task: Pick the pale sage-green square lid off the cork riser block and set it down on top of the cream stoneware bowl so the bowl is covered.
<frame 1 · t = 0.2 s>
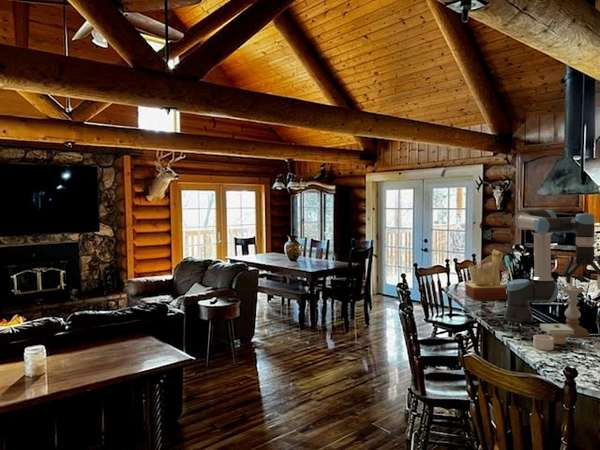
hand: (585, 289, 213), 27 cm above the kitchen island, fingers open, 13 cm apart
decorative skull: (490, 287, 364), on the kitchen island
candle holder: (572, 334, 233), on the kitchen island
lid: (556, 330, 221), point 5 cm above the kitchen island, touching riser
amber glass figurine: (486, 297, 326), on the kitchen island
riser: (556, 341, 222), on the kitchen island
bowl: (543, 347, 214), on the kitchen island
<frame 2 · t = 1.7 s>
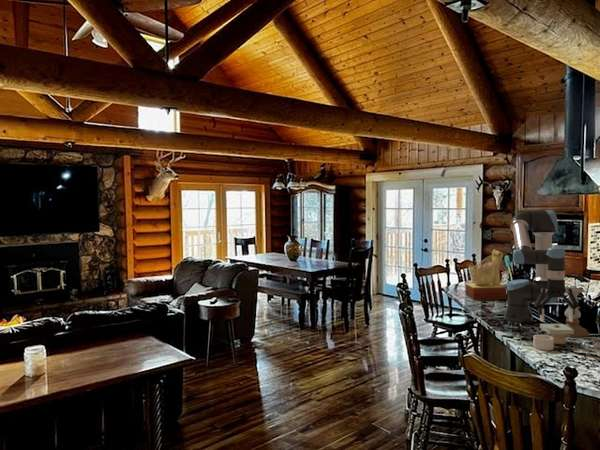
hand: (556, 321, 221), 10 cm above the kitchen island, fingers open, 13 cm apart
nothing on the kitchen island moved.
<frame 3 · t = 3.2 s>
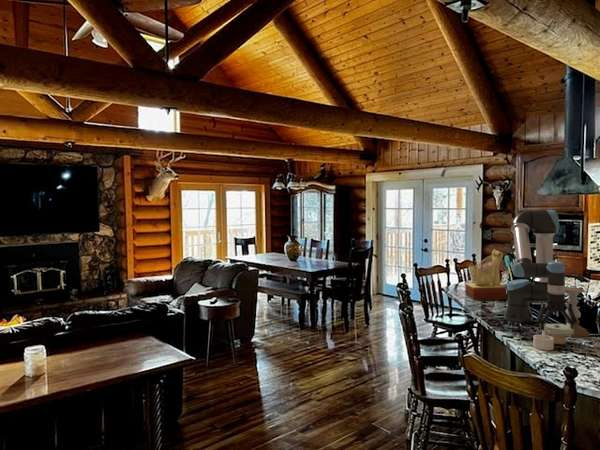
hand: (556, 336, 221), 3 cm above the kitchen island, fingers closed on lid, 11 cm apart
lid: (556, 330, 221), point 6 cm above the kitchen island, touching gripper, riser
everything else where it was.
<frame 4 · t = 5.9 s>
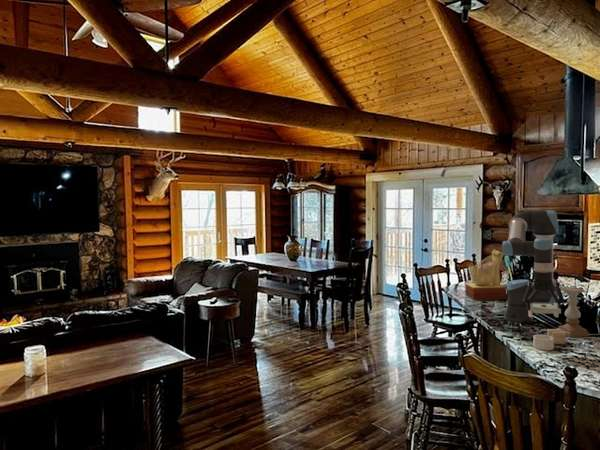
hand: (543, 316, 213), 15 cm above the kitchen island, fingers closed on lid, 11 cm apart
lid: (543, 310, 213), point 18 cm above the kitchen island, touching gripper
everything else where it was.
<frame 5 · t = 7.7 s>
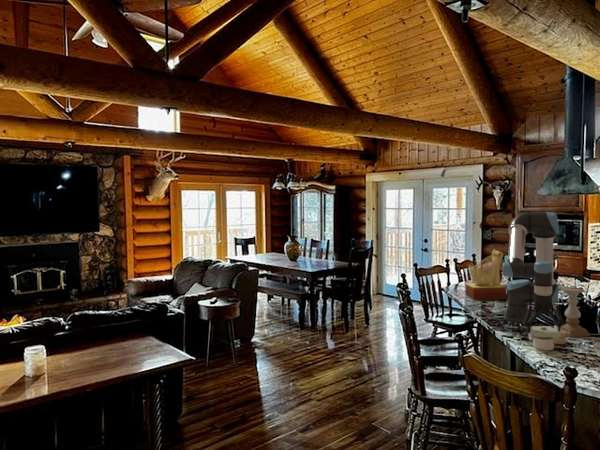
hand: (543, 339, 213), 4 cm above the kitchen island, fingers closed on lid, 11 cm apart
lid: (543, 333, 213), point 7 cm above the kitchen island, touching gripper
everything else where it was.
when the fingers open (3 cm above the kitchen island, at t = 8.9 s): lid drops 1 cm, resting on bowl.
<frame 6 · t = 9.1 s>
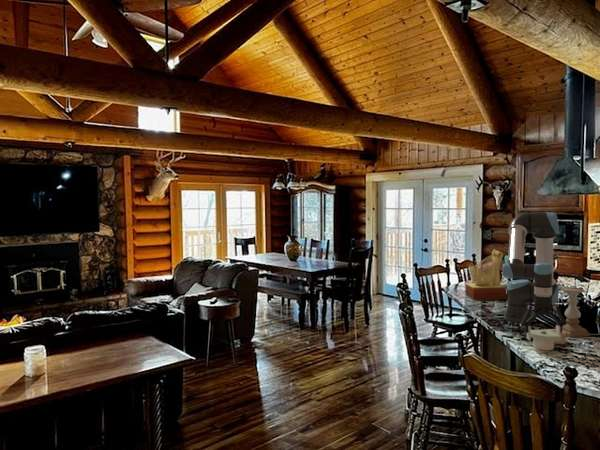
hand: (543, 339, 213), 4 cm above the kitchen island, fingers open, 13 cm apart
lid: (543, 337, 213), point 5 cm above the kitchen island, touching bowl
everything else where it was.
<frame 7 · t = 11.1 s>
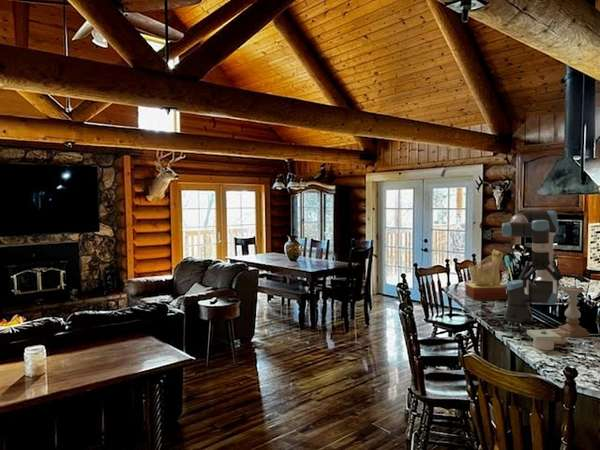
hand: (540, 293, 221), 24 cm above the kitchen island, fingers open, 13 cm apart
nothing on the kitchen island moved.
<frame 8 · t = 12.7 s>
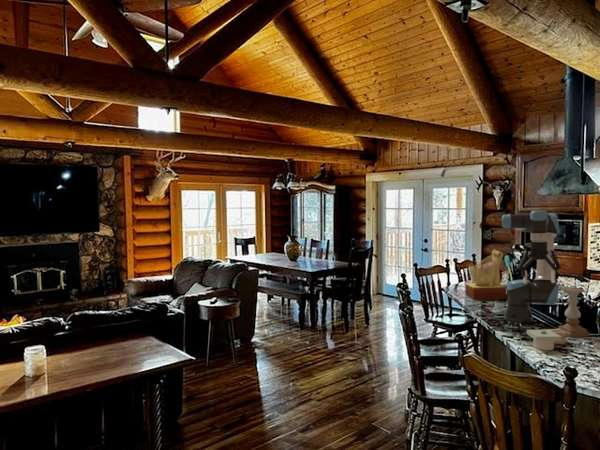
hand: (539, 282, 226), 29 cm above the kitchen island, fingers open, 13 cm apart
nothing on the kitchen island moved.
at the end: lid 0.0 cm off-centre on the bowl, point 5.0 cm above the bowl's base; lid tilted 0°; the gripper is holding nothing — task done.
